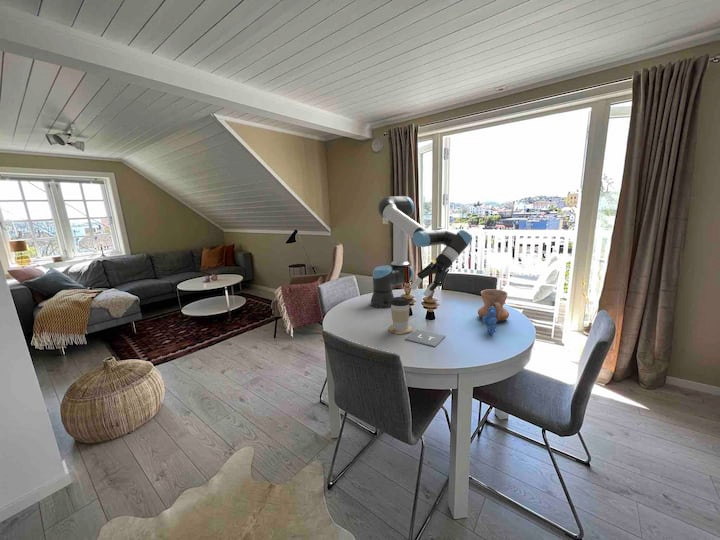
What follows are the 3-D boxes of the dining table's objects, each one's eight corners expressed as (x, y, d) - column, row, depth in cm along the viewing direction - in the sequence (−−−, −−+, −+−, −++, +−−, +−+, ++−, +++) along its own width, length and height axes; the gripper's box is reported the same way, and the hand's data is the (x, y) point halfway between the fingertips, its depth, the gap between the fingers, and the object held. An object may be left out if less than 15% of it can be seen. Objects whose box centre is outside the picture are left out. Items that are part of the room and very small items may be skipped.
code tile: (404, 339, 129) (404, 338, 129) (416, 330, 139) (416, 329, 139) (435, 347, 121) (435, 346, 121) (445, 336, 131) (445, 335, 131)
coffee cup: (395, 323, 147) (394, 294, 144) (412, 326, 142) (412, 296, 139) (388, 329, 139) (387, 299, 136) (406, 333, 135) (405, 301, 132)
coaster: (384, 331, 139) (384, 329, 139) (395, 323, 148) (395, 322, 148) (405, 336, 133) (405, 334, 133) (415, 328, 142) (415, 326, 142)
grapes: (481, 326, 141) (482, 302, 138) (496, 328, 138) (498, 303, 136) (480, 336, 130) (482, 310, 128) (497, 338, 127) (499, 311, 125)
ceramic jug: (475, 312, 160) (476, 287, 157) (504, 313, 156) (505, 287, 154) (480, 325, 143) (481, 297, 140) (513, 326, 139) (514, 298, 136)
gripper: (467, 267, 130) (436, 303, 129) (437, 259, 153) (411, 290, 152) (457, 256, 127) (426, 293, 126) (428, 250, 151) (402, 281, 150)
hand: (418, 291), depth 139 cm, fingers open, 13 cm apart
